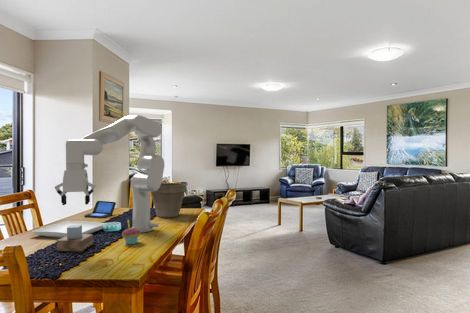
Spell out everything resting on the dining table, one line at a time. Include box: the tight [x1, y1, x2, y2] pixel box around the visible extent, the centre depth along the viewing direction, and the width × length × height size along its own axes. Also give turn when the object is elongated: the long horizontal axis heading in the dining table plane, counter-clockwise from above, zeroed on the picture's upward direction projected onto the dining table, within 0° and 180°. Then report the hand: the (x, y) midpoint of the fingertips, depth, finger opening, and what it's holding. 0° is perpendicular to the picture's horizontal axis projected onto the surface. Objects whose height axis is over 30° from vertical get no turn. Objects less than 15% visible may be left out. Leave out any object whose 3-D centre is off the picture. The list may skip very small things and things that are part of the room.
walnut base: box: [56, 233, 94, 252], centre depth 150 cm, size 11×11×5 cm
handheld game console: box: [84, 200, 117, 219], centre depth 222 cm, size 16×13×9 cm
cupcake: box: [121, 219, 141, 245], centre depth 158 cm, size 9×8×12 cm
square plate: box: [31, 220, 107, 239], centre depth 177 cm, size 27×27×4 cm
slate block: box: [67, 225, 82, 239], centre depth 150 cm, size 5×5×5 cm
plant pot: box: [150, 182, 187, 219], centre depth 224 cm, size 25×25×22 cm
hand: (75, 204), depth 150 cm, fingers open, 9 cm apart
